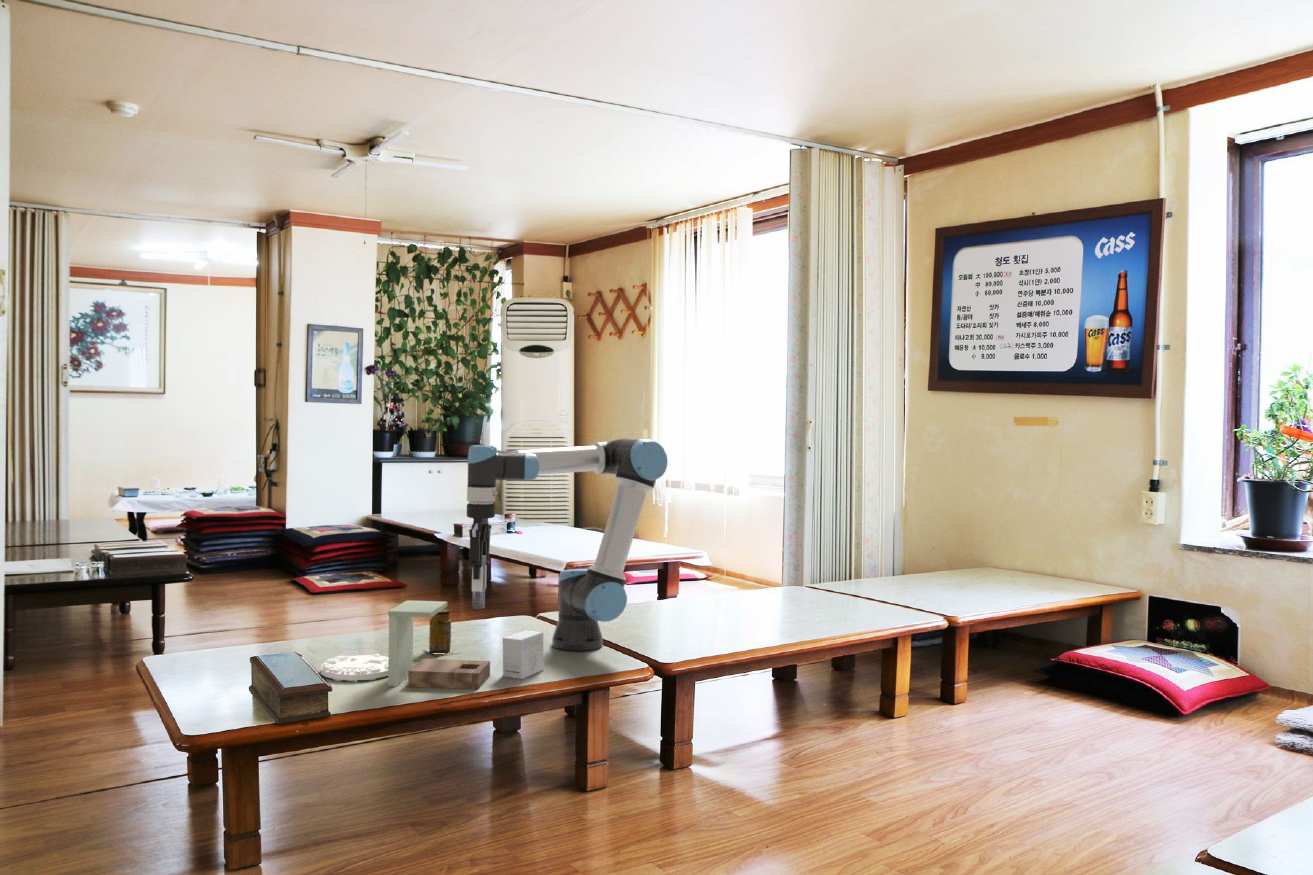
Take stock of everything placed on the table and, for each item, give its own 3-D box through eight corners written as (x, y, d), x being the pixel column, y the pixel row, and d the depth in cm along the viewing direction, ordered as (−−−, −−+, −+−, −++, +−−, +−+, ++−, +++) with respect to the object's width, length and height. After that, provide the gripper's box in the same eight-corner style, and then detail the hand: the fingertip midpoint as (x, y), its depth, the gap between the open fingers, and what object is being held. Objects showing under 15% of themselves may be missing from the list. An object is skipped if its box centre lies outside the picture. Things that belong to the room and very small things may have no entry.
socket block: (489, 675, 248) (490, 660, 248) (478, 689, 236) (478, 673, 236) (423, 673, 249) (423, 658, 249) (408, 686, 237) (408, 670, 237)
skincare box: (524, 667, 258) (525, 629, 257) (544, 670, 255) (544, 631, 254) (501, 676, 248) (501, 636, 248) (521, 679, 245) (521, 639, 245)
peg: (474, 606, 254) (475, 554, 254) (485, 606, 254) (487, 555, 253) (470, 608, 251) (472, 556, 251) (482, 609, 250) (484, 556, 250)
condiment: (445, 647, 278) (446, 606, 277) (459, 653, 271) (459, 611, 271) (422, 650, 273) (423, 609, 273) (435, 656, 267) (436, 614, 266)
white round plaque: (414, 670, 254) (414, 660, 253) (357, 687, 237) (357, 676, 236) (362, 659, 264) (362, 649, 264) (304, 674, 247) (304, 663, 247)
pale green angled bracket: (446, 673, 250) (447, 601, 249) (430, 688, 236) (431, 612, 235) (405, 671, 250) (406, 600, 250) (387, 686, 236) (388, 611, 236)
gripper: (486, 505, 243) (484, 595, 244) (502, 500, 259) (500, 585, 260) (458, 504, 244) (456, 594, 244) (475, 499, 260) (473, 584, 260)
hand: (478, 589), depth 252 cm, fingers closed on peg, 3 cm apart
